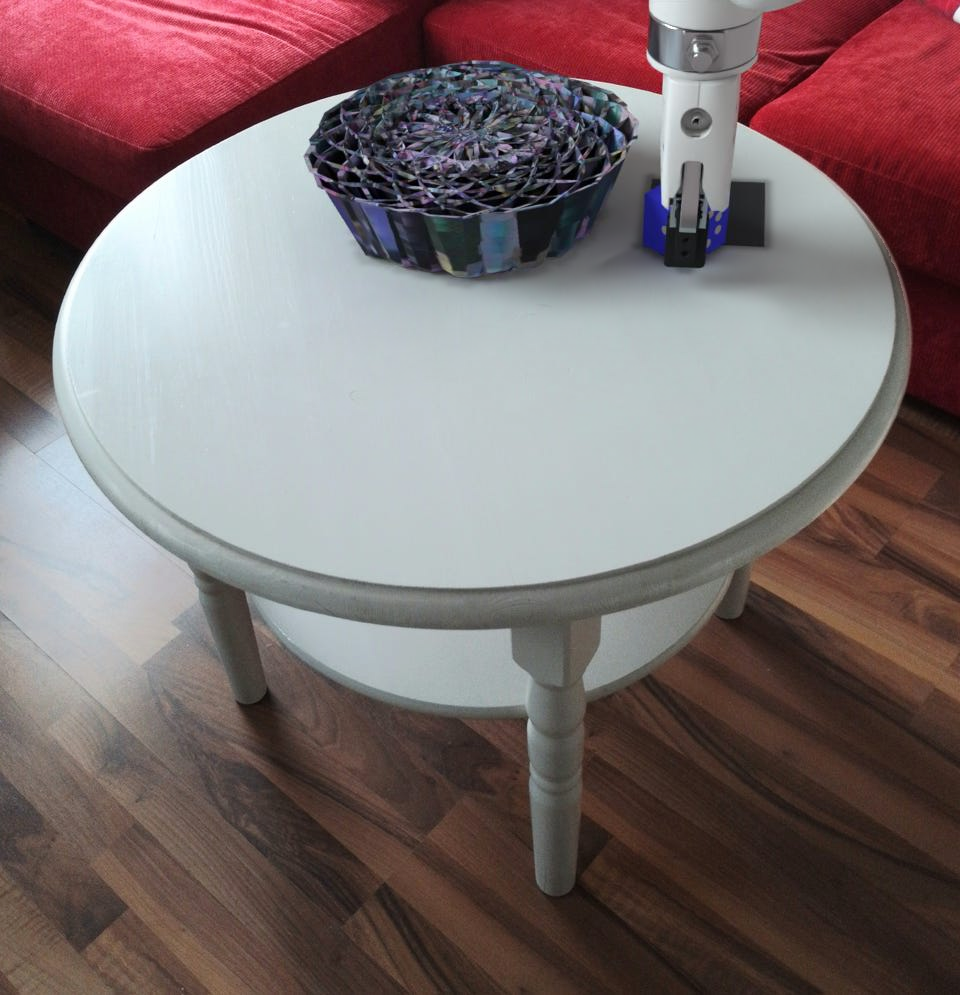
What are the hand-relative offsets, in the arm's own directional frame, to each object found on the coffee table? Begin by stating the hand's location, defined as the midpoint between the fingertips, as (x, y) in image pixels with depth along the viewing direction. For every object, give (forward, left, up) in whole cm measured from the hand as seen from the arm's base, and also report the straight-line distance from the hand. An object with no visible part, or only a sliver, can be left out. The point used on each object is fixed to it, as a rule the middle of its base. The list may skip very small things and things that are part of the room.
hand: (684, 261), depth 87 cm
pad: (-1, -11, -2) cm, 11 cm away
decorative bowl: (+19, -9, -2) cm, 21 cm away
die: (0, -6, -2) cm, 6 cm away
